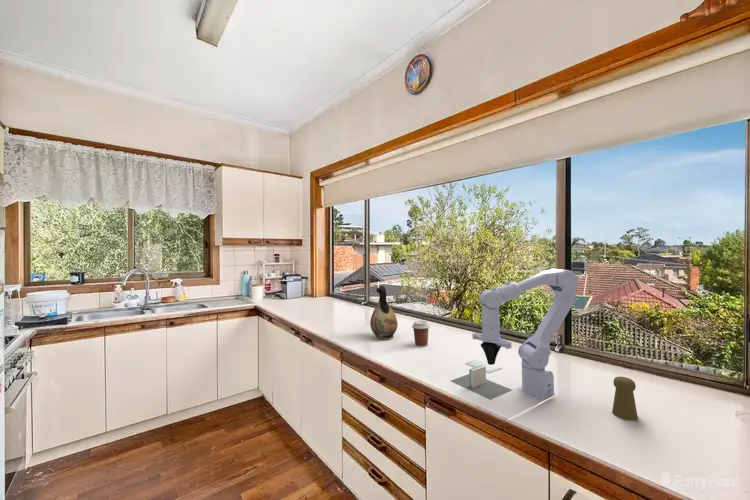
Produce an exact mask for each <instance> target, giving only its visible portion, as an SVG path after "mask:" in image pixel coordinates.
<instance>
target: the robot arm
mask: <svg viewBox="0 0 750 500" xmlns="http://www.w3.org/2000/svg"><path fill="white" fill-rule="evenodd" d="M579 284H580V281H579V280H578V277H577V275H576V274H575V272H574V271H572V270H570V269H559V268H555V267H554V268H553V267H552V268H549V269H546V270H542V271H541V272H539V273H537V274H534V275H531V276H530V277H527V278H526V279H523V280H520V281H519V282H515V281H505V282H504V284H502V285H499V286H494V287H492V288H491V290H489V289H486V290H483V291H481V293H480V295H479V297H478V301H479V302H480V304H481V333H478V332H475V333H474V332H473V333H472V335H471V337H472V340H478V341H481V342H482V343H480V347H481V348H482V350H483V352H484V354H485V355H484V356H485V358H486V360H487V361H486V362H487V363H488V364H489V365H495V364H496V360H497V356H498V354H499V352H500V350H501V348H505V349H506V350H509V349H512V341H509V340H506V339H504V338H501V337H500V331H501V329H500V307H501V306H502V304H504V303H507V302H509V301H511V300H514V299H517V298H519V297H520V296H521V294H522V292H525V291H528V290H531V289H534V288H537V287H540V286H543V285H547V286H548V287H550V289H551V290H552V292H553V294H554V296H555V298H554V300H553V301H552V302H551V303H552V304H551V305H550V307H549V309H548V310H547V312H546V314H545V315H544V317H543V319H542V320H541V322H540V324H539V325H538V327H537V329H536V331H535V332H534V334H533V335H532V336H530V337H528V338H527V339H526V340H525V342H523V343H522V344H520V346H519V347H518V351H517V352H518V356H519V357H520V359H521V386H518V387H516V389H517V390H519V391H521V392H524V393H525V394H529V395H532V396H534V397H537V398H539V399H542V400H543V399H546V398H548V397H550V396H552V395H553V394H556V392H555V386H554V385H555V381H554V377H555V376H554V373H553V371H552V370H549V369H547V366H548V364H549V357H550V355H551V354H552V350H551V347H550V344H551V342H552V341H553V339H554V337H555V336H556V334H557V332H558V331H559V328H560V327H561V325H562V323H563V322H564V320H565V319H566V317H567V315H568V313H569V312H570V310H571V308H572V307H573V305H574V303H575V302H576V298H577V297H576V296H577V288H578V285H579Z"/></svg>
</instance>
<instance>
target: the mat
mask: <svg viewBox="0 0 750 500" xmlns="http://www.w3.org/2000/svg"><path fill="white" fill-rule="evenodd" d="M450 382H452V383H453V384H455V385H458V386H460V387H462V388H465V389H467V390H468V391H471V392H473V393H475V394H476V395H477V394H478V395H480V396H482V397H484V398H486V399H488V400H490V401H491V400H494V399H496V398H498V397H500V396H502V395H505V394H507V393H509V392H511V391H513V389H511V388H510V387H506V386H504V385H501V384H499V383H497V382H494V381H492V380H490V379H487V378H486V383H484V384H481V385H478V386H476V387H471V386H470V379H469V373H468V374H466V375H463V376H460V377H457V378H454V379H451V380H450Z"/></svg>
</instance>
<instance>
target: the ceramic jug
mask: <svg viewBox="0 0 750 500" xmlns="http://www.w3.org/2000/svg"><path fill="white" fill-rule="evenodd" d="M375 290H376V293H377V294H378V295H379V298H378V302H377V304H376V306H375V307H374V309H373V311H372V313H371V317H370V321H369V326H370V329H371V332H372V333H373V335H375V336H376V338H377V339H378V340H381V341H382V340H383V341H387V340H390V339H393V338H394V334H395V333H396V332H397V329H398V320H397V315H396V313H395V312H394V310H393V309H392V307H391V306H390V304H389V303H388V302H387V291H386V287H385V286H384V285H380V286H378V287H376V289H375Z"/></svg>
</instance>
